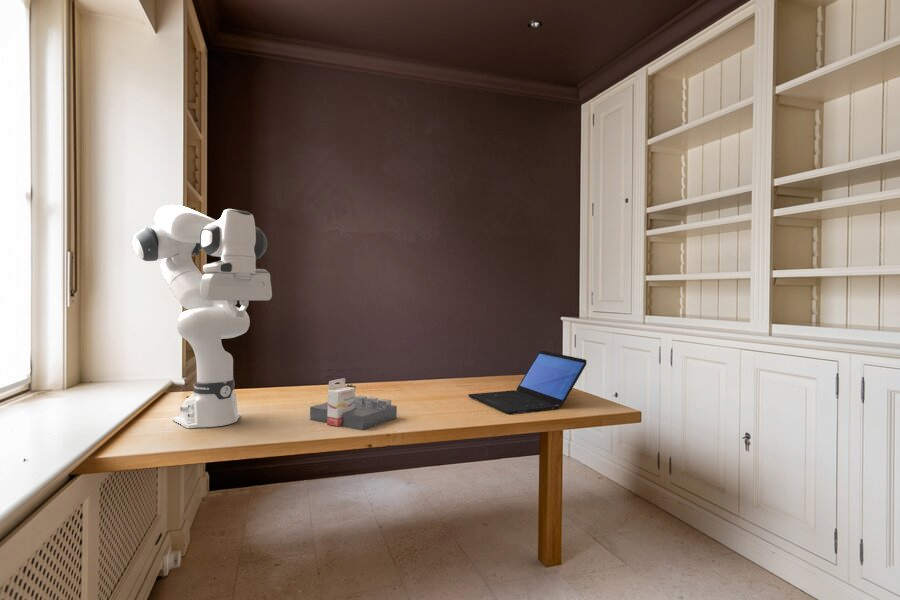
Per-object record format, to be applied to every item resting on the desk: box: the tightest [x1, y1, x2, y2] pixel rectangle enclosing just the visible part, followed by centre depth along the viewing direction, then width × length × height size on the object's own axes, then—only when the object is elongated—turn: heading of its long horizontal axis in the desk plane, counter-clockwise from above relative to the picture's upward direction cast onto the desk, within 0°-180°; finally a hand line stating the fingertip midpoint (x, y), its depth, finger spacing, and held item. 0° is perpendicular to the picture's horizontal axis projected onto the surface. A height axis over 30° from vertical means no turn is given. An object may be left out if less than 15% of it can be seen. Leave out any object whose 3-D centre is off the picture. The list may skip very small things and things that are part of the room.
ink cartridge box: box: [326, 377, 356, 427], centre depth 164 cm, size 9×5×15 cm, turn 150°
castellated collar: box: [309, 394, 398, 431], centre depth 170 cm, size 24×18×6 cm
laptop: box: [467, 350, 587, 415], centre depth 201 cm, size 33×38×19 cm
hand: (238, 317), depth 135 cm, fingers closed
